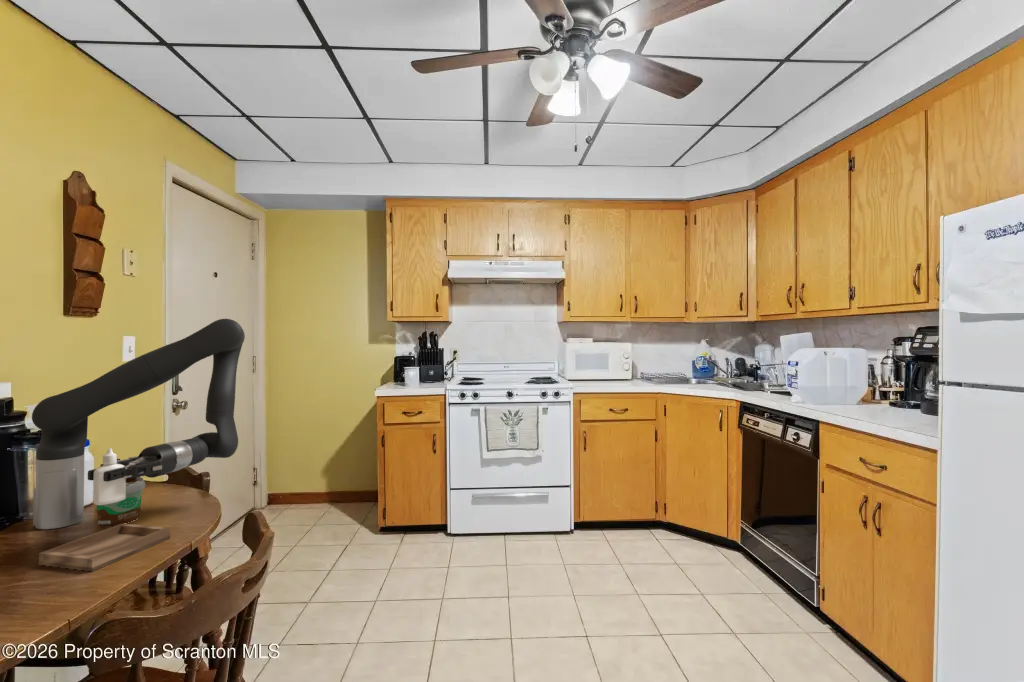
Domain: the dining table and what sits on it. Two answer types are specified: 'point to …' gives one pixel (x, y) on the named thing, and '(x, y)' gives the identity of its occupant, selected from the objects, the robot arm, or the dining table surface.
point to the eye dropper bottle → (111, 489)
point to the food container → (123, 506)
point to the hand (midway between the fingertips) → (97, 476)
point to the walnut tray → (104, 547)
